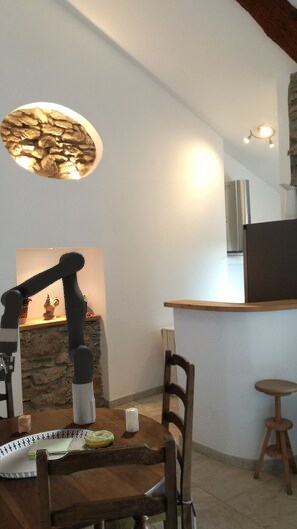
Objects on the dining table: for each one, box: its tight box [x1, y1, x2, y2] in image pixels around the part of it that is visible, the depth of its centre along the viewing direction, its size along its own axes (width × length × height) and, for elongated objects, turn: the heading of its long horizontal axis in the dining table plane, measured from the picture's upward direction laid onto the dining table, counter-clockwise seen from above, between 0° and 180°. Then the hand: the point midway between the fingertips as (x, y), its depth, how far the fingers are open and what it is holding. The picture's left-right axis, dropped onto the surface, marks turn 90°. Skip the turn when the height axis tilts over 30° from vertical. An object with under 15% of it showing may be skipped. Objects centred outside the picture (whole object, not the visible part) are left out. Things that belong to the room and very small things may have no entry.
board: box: [27, 437, 74, 456], centre depth 155 cm, size 14×12×1 cm
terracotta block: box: [17, 414, 32, 434], centre depth 175 cm, size 4×4×6 cm
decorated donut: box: [84, 430, 115, 449], centre depth 157 cm, size 10×11×4 cm
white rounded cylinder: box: [125, 407, 140, 433], centre depth 169 cm, size 5×5×8 cm
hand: (4, 382), depth 162 cm, fingers open, 8 cm apart
